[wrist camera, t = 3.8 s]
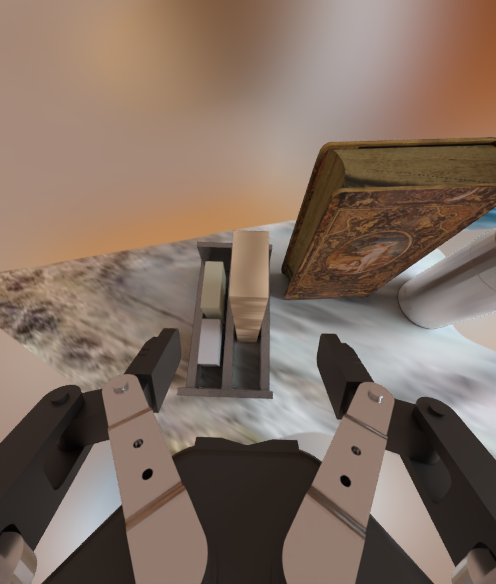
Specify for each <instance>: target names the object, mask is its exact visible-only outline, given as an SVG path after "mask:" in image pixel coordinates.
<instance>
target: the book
mask: <svg viewBox="0 0 496 584" xmlns="http://www.w3.org/2000/svg"><path fill="white" fill-rule="evenodd" d="M495 207H496V138H495V137H487V138H457V139H456V138H455V139H454V138H453V139H422V140H421V139H419V140H388V141H387V140H386V141H354V142H353V141H351V142H329V143H326V144H325V145H324V146H323V147H322V148H321V149H320V152H319V154H318V157H317V159H316V162H315V165H314V168H313V171H312V175H311V178H310V181H309V184H308V187H307V190H306V194H305V196H304V199H303V203H302V205H301V208H300V212H299V215H298V218H297V221H296V224H295V227H294V230H293V233H292V236H291V239H290V243H289V246H288V249H287V252H286V255H285V258H284V261H283V264H282V268H281V271H282V273H283V274H285V275H286V276H287V277H288V279H289V281H290V284H289V286H288V288H287V290H286V292H285V296H284V297H285V300H306V299H327V298H348V297H368V296H369V295H370V294H372V293H373V292H375V291H376V290H378V289H379V288H380V287H382V286H383V285H385V284H386V283H388V282H389V281H390V280H392V279H393V278H395V277H396V276H398V275H399V274H400V273H402V272H403V271H405V270H406V269H408V268H409V267H410V266H412V265H413V264H415V263H416V262H418V261H419V260H420V259H422V258H423V257H425V256H426V255H428V254H429V253H430V252H432V251H433V250H435V249H436V248H437V247H439V246H440V245H442V244H443V243H444V242H446V241H448V240H449V239H450V238H452V237H453V236H455V235H456V234H457V233H459V232H460V231H462V230H463V229H465V228H466V227H468V226H469V225H470V224H472V223H473V222H475V221H476V220H478V219H479V218H480V217H482V216H483V215H485V214H486V213H488V212H489V211H490V210H492V209H493V208H495Z"/></svg>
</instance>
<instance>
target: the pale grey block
mask: <svg viewBox="0 0 496 584" xmlns="http://www.w3.org/2000/svg"><path fill="white" fill-rule="evenodd" d="M223 342H224V328H223V325H222V323H221V320H220V319H202V325H201V335H200V344H199V353H198V363H197V364H200V365H203V366H205V367H222V356H223Z"/></svg>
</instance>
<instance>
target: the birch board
mask: <svg viewBox="0 0 496 584" xmlns="http://www.w3.org/2000/svg"><path fill="white" fill-rule="evenodd" d="M229 298H230V303H231V309H232V314H233V319H234V324H235V329H236V334H237V340H238V342H242V343H256V342H257V338H258V335H259V331H260V327H261V324H262V320H263V316H264V313H265V309H266V305H267V302H268V298H269V231H240V230H234V232H233V247H232V261H231V276H230V291H229Z"/></svg>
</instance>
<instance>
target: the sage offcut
mask: <svg viewBox="0 0 496 584" xmlns="http://www.w3.org/2000/svg"><path fill="white" fill-rule="evenodd" d="M226 300H227V281H226V275H225V270H224V265H223V262H213V261H206V262H205V271H204V280H203V288H202V297H201V306H200V308H201V310H202V311H203V313H204V314H205V316H206V318H207V319H220V320H221V323H222V324H225V314H226Z"/></svg>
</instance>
